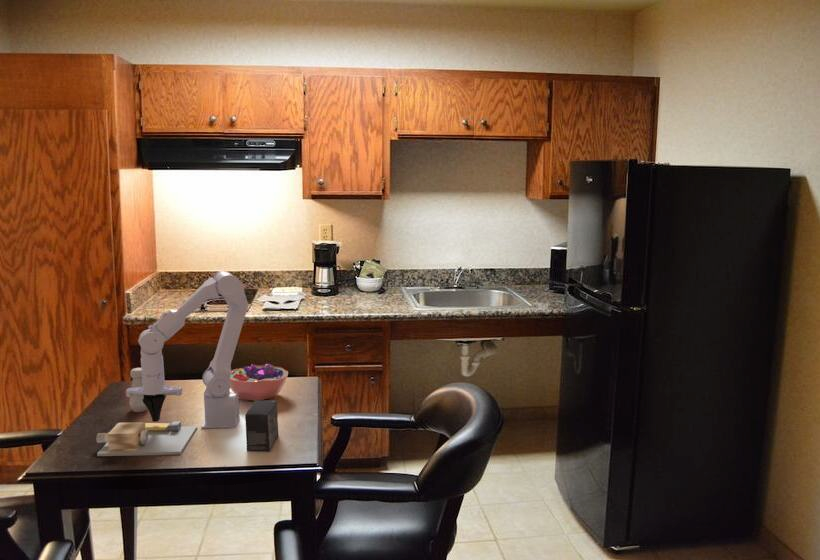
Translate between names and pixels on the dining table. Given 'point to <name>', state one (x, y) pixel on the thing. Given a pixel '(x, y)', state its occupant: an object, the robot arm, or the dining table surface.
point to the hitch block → (125, 436)
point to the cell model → (257, 381)
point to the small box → (261, 426)
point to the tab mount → (175, 426)
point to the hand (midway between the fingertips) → (156, 420)
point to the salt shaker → (136, 374)
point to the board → (158, 443)
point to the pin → (142, 437)
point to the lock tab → (158, 426)
